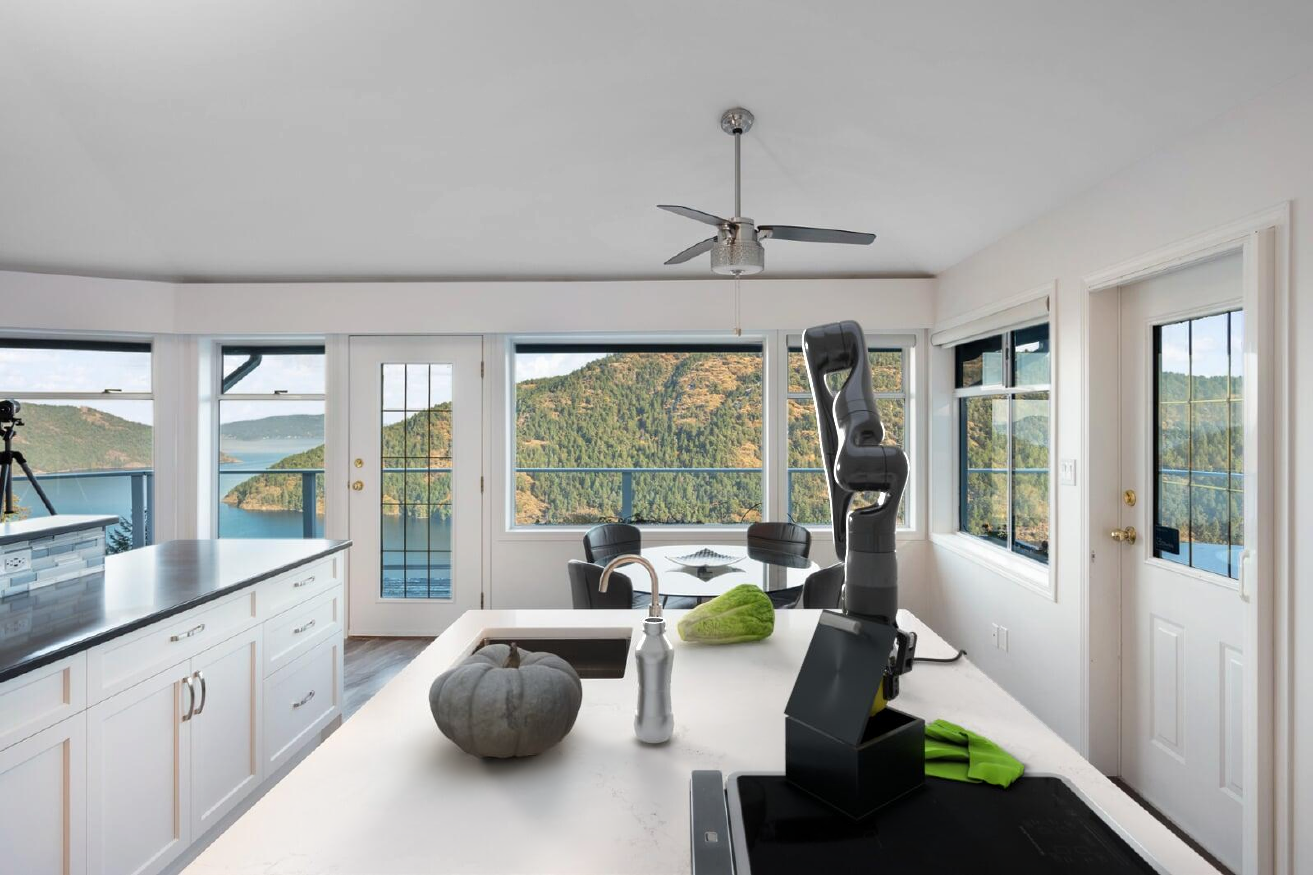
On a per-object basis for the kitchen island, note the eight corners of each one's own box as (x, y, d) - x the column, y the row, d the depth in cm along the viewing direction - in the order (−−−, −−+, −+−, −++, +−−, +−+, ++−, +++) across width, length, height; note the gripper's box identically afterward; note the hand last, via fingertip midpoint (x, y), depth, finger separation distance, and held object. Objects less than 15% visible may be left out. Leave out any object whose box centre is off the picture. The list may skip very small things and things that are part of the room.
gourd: (415, 776, 93) (430, 648, 96) (428, 730, 116) (439, 629, 120) (590, 771, 99) (598, 652, 102) (568, 729, 123) (575, 633, 126)
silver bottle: (633, 731, 113) (632, 615, 113) (672, 730, 113) (672, 614, 113) (635, 749, 106) (634, 626, 106) (676, 747, 107) (676, 625, 107)
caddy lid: (826, 610, 101) (807, 597, 98) (898, 630, 91) (879, 615, 88) (786, 714, 96) (765, 703, 93) (858, 747, 86) (837, 736, 83)
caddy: (852, 753, 105) (852, 692, 105) (925, 787, 95) (925, 719, 95) (785, 784, 96) (784, 717, 96) (857, 825, 85) (857, 750, 85)
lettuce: (694, 667, 152) (672, 653, 165) (785, 639, 160) (757, 627, 174) (683, 607, 152) (662, 598, 166) (774, 582, 160) (747, 575, 174)
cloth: (1025, 799, 92) (1025, 781, 92) (864, 761, 102) (864, 745, 102) (1025, 739, 109) (1025, 725, 109) (888, 713, 120) (887, 699, 120)
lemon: (891, 723, 93) (886, 666, 94) (850, 721, 95) (846, 664, 96) (892, 711, 98) (887, 656, 99) (853, 709, 100) (849, 655, 101)
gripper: (930, 584, 94) (930, 702, 94) (847, 568, 105) (847, 673, 106) (898, 592, 89) (899, 715, 89) (816, 574, 101) (816, 683, 101)
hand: (871, 692), depth 98 cm, fingers closed on lemon, 5 cm apart
